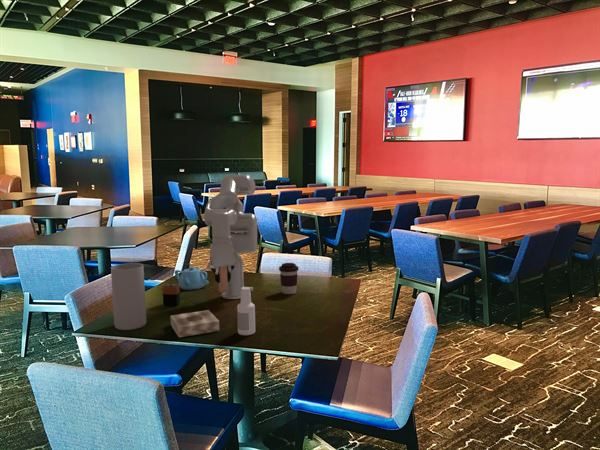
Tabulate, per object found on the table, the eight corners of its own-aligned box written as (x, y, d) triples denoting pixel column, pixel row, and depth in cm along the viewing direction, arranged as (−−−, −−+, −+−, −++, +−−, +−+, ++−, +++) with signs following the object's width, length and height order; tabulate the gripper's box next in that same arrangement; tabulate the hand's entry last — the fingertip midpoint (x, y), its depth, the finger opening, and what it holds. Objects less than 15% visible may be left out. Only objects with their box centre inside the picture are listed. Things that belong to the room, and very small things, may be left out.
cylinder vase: (135, 318, 206) (132, 262, 202) (152, 324, 198) (149, 265, 195) (108, 326, 196) (104, 267, 193) (125, 333, 188) (121, 271, 185)
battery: (176, 306, 223) (175, 285, 222) (163, 305, 224) (162, 285, 223) (180, 303, 227) (179, 283, 226) (167, 303, 228) (166, 282, 227)
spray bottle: (238, 329, 191) (237, 286, 188) (255, 329, 191) (254, 285, 189) (237, 336, 184) (236, 290, 181) (255, 335, 184) (254, 290, 182)
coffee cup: (299, 290, 249) (299, 262, 247) (297, 295, 239) (297, 266, 237) (280, 289, 250) (280, 261, 248) (278, 295, 240) (277, 266, 238)
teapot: (170, 287, 258) (169, 267, 256) (198, 281, 269) (197, 262, 268) (183, 292, 246) (183, 271, 245) (212, 287, 258) (212, 266, 256)
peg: (226, 289, 210) (225, 262, 208) (229, 291, 206) (228, 264, 205) (217, 290, 208) (216, 263, 206) (220, 292, 205) (219, 265, 203)
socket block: (208, 319, 204) (208, 310, 204) (219, 330, 190) (219, 321, 189) (170, 324, 197) (170, 315, 197) (178, 337, 183) (178, 327, 182)
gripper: (237, 237, 211) (238, 277, 214) (200, 240, 204) (201, 282, 206) (242, 240, 204) (244, 281, 207) (204, 243, 197) (206, 286, 200)
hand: (223, 281), depth 207 cm, fingers closed on peg, 4 cm apart
